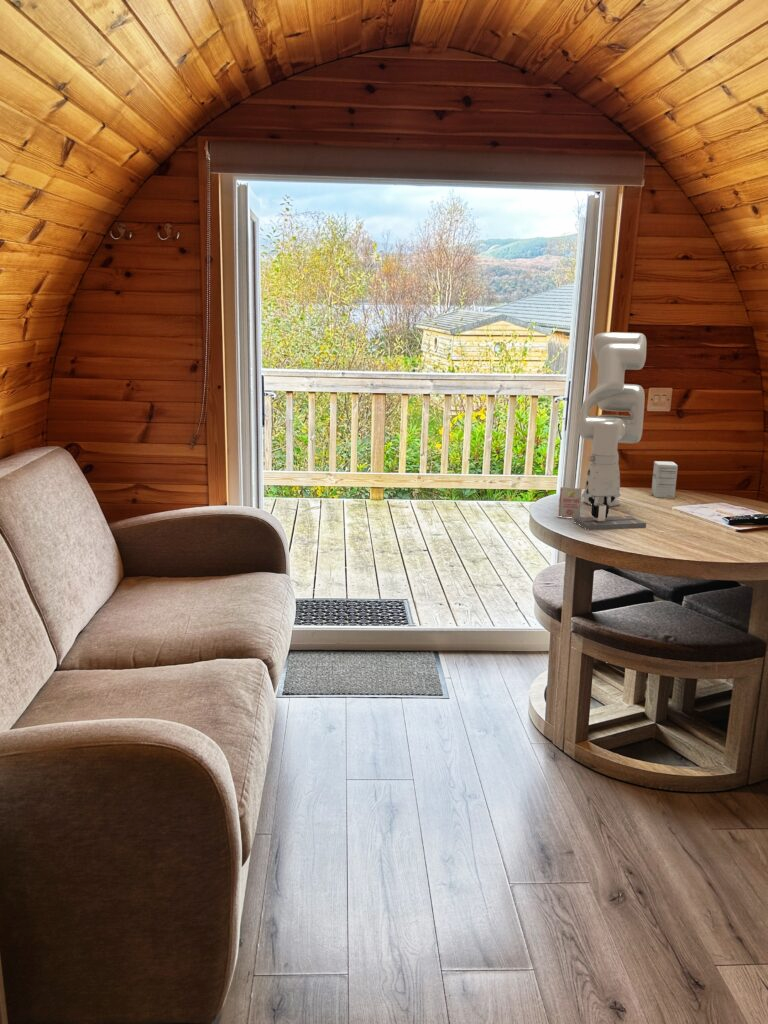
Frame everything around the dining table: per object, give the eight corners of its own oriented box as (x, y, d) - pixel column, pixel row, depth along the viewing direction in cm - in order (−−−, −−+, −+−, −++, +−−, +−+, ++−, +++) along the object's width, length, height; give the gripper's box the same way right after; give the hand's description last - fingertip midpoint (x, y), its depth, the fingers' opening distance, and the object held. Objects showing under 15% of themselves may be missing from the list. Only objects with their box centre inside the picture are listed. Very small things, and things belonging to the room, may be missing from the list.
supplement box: (650, 493, 306) (653, 460, 303) (670, 494, 305) (674, 461, 302) (654, 497, 299) (657, 464, 296) (675, 498, 298) (678, 464, 295)
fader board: (573, 522, 260) (574, 517, 260) (630, 520, 264) (630, 515, 264) (587, 530, 251) (587, 525, 251) (645, 527, 255) (646, 522, 255)
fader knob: (593, 518, 258) (594, 503, 257) (600, 518, 258) (601, 503, 257) (598, 521, 255) (599, 505, 254) (605, 520, 255) (606, 505, 254)
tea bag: (559, 515, 270) (561, 486, 267) (579, 517, 268) (581, 487, 266) (558, 517, 266) (560, 488, 264) (579, 519, 264) (581, 489, 262)
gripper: (585, 462, 247) (581, 520, 251) (633, 461, 250) (628, 518, 254) (574, 458, 254) (571, 514, 258) (621, 457, 257) (617, 513, 261)
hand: (599, 516), depth 256 cm, fingers closed on fader knob, 2 cm apart
